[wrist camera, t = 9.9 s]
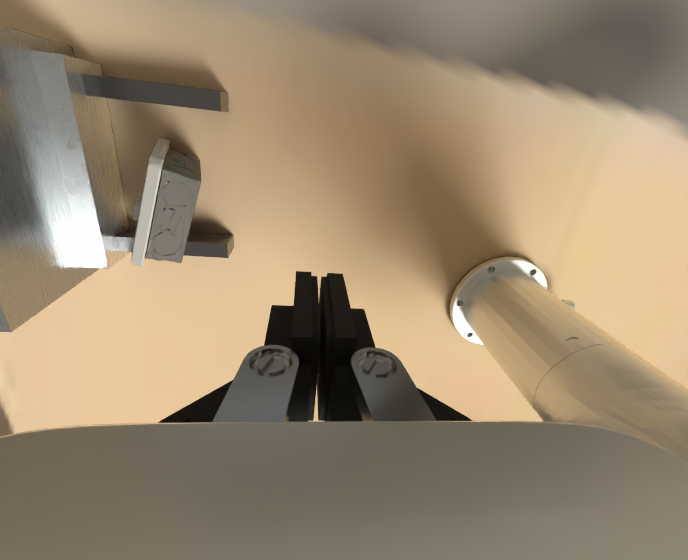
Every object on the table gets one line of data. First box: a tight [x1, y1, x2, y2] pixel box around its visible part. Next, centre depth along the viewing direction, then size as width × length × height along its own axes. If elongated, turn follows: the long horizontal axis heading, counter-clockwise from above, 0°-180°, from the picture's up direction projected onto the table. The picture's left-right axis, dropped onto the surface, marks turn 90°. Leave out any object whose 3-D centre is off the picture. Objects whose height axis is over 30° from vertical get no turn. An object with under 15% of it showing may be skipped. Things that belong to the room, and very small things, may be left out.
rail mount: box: [0, 25, 234, 332], centre depth 26 cm, size 14×19×14 cm
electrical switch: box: [131, 138, 201, 266], centre depth 30 cm, size 9×5×9 cm, turn 157°
